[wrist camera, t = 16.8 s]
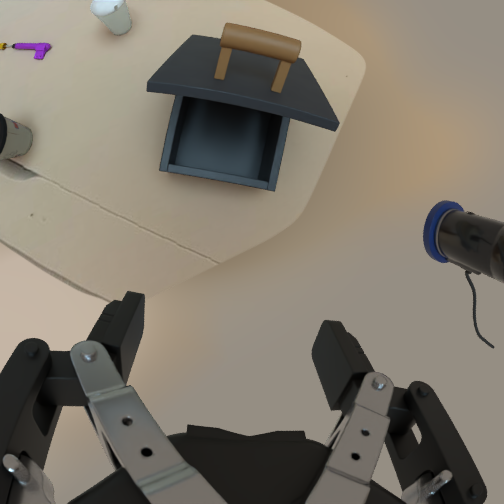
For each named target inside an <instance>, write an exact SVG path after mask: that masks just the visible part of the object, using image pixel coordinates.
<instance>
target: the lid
mask: <svg viewBox="0 0 504 504" xmlns="http://www.w3.org/2000/svg"><path fill="white" fill-rule="evenodd" d="M300 50H301V41H300V40H296V39H293V38H290V37H286V36H283V35H279V34H275V33H272V32H268V31H264V30H260V29H255V28H251V27H247V26H242V25H237V24H232V23H226V24H225V27H224V30H223V33H222V37H221V39H219V38H213V37H206V36H199V35H192V36H191V37H190V38H188V39H187V40H186V41H185V42H184V43H183V44H182V45H181V46H180V47H179V48H178V49H177V50H176V51H175V52H174V53H173V54H172V55H171V56H170V57H169V58H168V59H167V61H166V62H165V63H164V64H163V65H162V66H161V67H160V68H159V69H158V70H157V71H156V72H155V74H154V75H153V76H152V77H151V78H150V79H149V80H148V82H147V92H156V93H164V94H173V95H180V96H187V97H194V98H200V99H206V100H212V101H217V102H222V103H228V104H233V105H237V106H242V107H247V108H251V109H256V110H260V111H264V112H268V113H272V114H276V115H280V116H284V117H288V118H291V119H295V120H298V121H302V122H305V123H309V124H312V125H315V126H319V127H322V128H325V129H328V130H331V131H334V132H335V131H336V130H337V128H338V126H339V124H340V123H339V121H338V119H337V117H336V115H335V113H334V111H333V109H332V107H331V106H330V104H329V102H328V100H327V98H326V96H325V95H324V93H323V91H322V89H321V88H320V86H319V84H318V82H317V81H316V79H315V77H314V76H313V74H312V72H311V71H310V69H309V67H308V66H307V64H306V62H305V61H304V59H301V58H298V56H299V53H300Z"/></svg>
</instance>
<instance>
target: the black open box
mask: <svg viewBox="0 0 504 504" xmlns="http://www.w3.org/2000/svg"><path fill="white" fill-rule="evenodd" d="M289 122H290V118H288V117H284V116H280V115H276V114H272V113H268V112H264V111H260V110H256V109H251V108H247V107H242V106H237V105H233V104H228V103H222V102H217V101H212V100H206V99H200V98H194V97H187V96H180V95H176V96H175V100H174V104H173V108H172V112H171V116H170V120H169V125H168V129H167V134H166V138H165V143H164V148H163V153H162V158H161V163H160V168H159V171H164V172H171V173H177V174H183V175H189V176H195V177H201V178H207V179H213V180H218V181H224V182H229V183H235V184H240V185H245V186H250V187H255V188H260V189H265V190H270V191H275V188H276V184H277V179H278V174H279V169H280V165H281V160H282V155H283V150H284V146H285V141H286V136H287V131H288V126H289Z"/></svg>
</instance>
